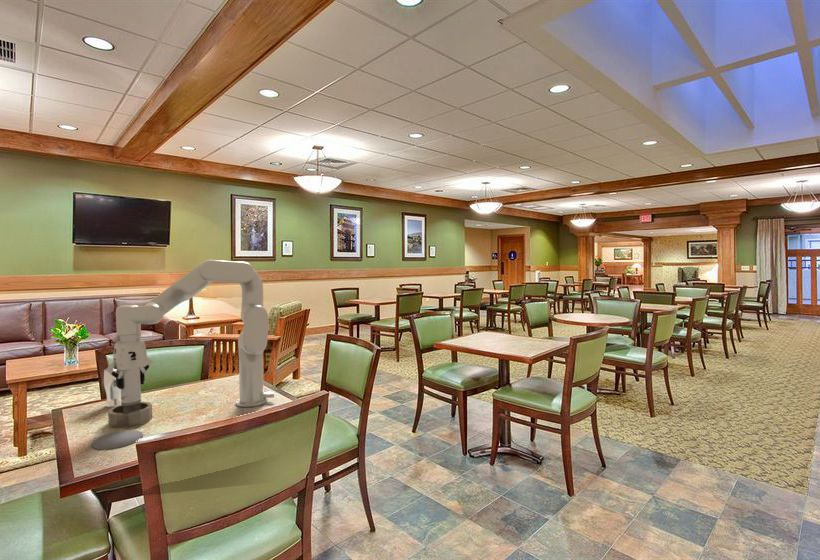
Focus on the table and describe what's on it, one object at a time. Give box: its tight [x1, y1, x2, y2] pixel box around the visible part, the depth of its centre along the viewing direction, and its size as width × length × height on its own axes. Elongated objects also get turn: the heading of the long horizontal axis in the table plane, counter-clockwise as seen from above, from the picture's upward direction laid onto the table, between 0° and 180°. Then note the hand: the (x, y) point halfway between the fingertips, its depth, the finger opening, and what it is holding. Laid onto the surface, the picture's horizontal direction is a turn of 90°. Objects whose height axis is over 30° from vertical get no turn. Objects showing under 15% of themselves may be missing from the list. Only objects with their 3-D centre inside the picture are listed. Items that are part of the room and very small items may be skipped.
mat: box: [91, 429, 144, 450], centre depth 142 cm, size 14×14×1 cm
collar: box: [107, 401, 153, 429], centre depth 159 cm, size 13×13×5 cm
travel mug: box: [121, 352, 142, 406], centre depth 158 cm, size 6×7×20 cm
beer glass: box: [103, 368, 121, 408], centre depth 176 cm, size 7×7×15 cm
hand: (130, 385), depth 158 cm, fingers closed on travel mug, 6 cm apart
